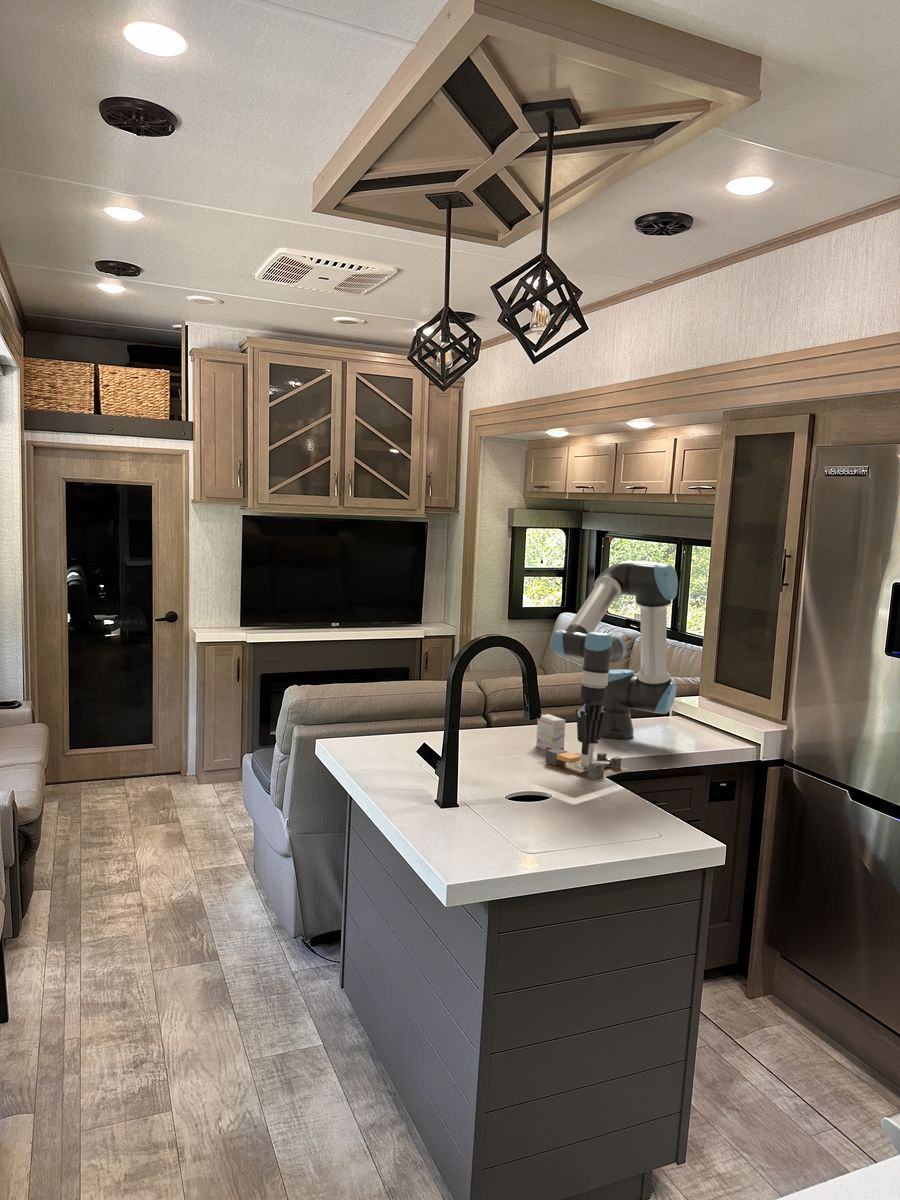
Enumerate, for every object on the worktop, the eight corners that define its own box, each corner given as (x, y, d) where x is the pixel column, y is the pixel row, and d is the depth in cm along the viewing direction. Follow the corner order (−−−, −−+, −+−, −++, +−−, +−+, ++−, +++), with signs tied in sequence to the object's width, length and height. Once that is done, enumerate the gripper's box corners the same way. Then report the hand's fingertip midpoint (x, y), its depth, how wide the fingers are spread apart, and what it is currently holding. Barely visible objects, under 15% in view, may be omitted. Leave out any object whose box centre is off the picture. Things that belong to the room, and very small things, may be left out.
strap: (605, 763, 253) (606, 757, 253) (614, 766, 251) (614, 760, 251) (574, 768, 242) (575, 762, 242) (583, 771, 240) (584, 764, 240)
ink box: (564, 756, 265) (567, 719, 263) (551, 757, 262) (555, 721, 261) (546, 748, 272) (549, 713, 271) (534, 750, 269) (537, 714, 268)
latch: (555, 760, 253) (556, 748, 252) (579, 767, 246) (580, 755, 246) (545, 762, 249) (546, 750, 249) (569, 770, 243) (570, 757, 243)
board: (576, 757, 264) (578, 741, 263) (630, 774, 250) (631, 757, 249) (536, 767, 250) (538, 750, 249) (591, 785, 236) (592, 767, 235)
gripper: (597, 681, 249) (589, 758, 251) (569, 684, 239) (562, 764, 241) (618, 686, 244) (610, 764, 245) (591, 689, 234) (583, 771, 236)
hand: (586, 764), depth 243 cm, fingers closed, pressing on strap
